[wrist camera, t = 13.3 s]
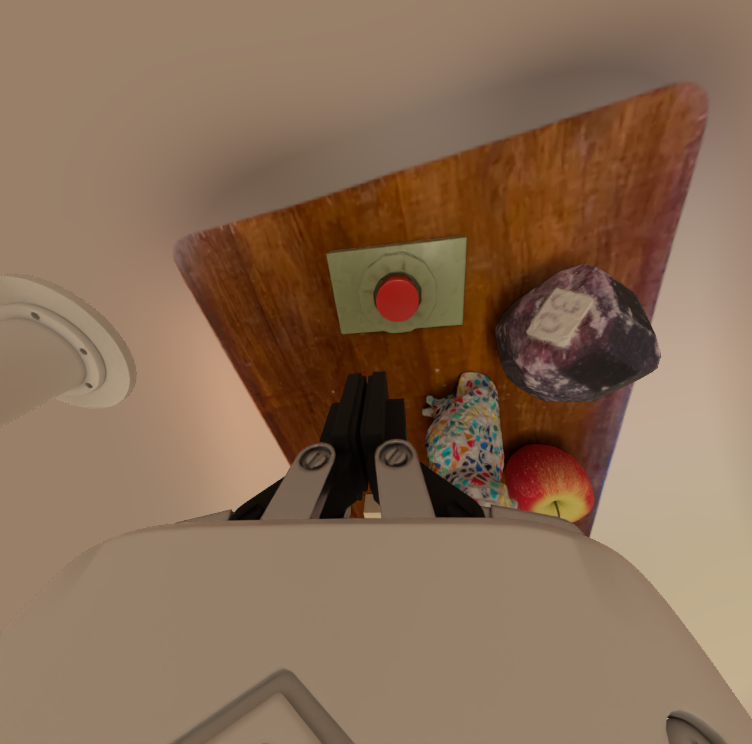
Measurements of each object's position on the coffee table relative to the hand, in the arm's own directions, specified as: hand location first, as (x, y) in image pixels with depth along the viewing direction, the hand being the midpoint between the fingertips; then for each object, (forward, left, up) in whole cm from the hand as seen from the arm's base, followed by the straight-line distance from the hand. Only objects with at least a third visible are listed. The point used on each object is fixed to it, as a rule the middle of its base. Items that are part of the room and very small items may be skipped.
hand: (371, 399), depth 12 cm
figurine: (+7, -13, -16) cm, 22 cm away
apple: (+16, -21, -16) cm, 31 cm away
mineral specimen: (+14, -3, -16) cm, 21 cm away
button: (+1, +1, -12) cm, 12 cm away
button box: (+1, +2, -15) cm, 16 cm away
